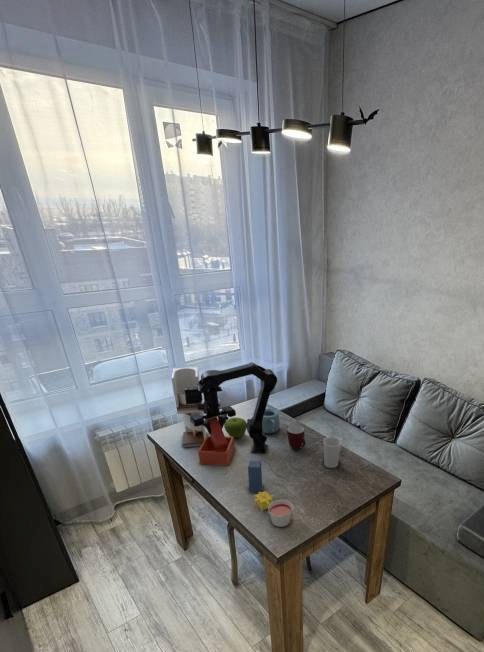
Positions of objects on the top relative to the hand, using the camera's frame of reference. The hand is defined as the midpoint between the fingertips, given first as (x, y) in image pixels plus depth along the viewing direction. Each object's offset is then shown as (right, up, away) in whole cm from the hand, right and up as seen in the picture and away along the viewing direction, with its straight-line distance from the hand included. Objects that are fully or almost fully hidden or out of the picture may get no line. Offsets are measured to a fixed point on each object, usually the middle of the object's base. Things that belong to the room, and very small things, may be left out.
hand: (215, 432), depth 175 cm
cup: (+51, -14, +5) cm, 54 cm away
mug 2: (+35, -7, +15) cm, 39 cm away
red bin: (-1, -11, +6) cm, 12 cm away
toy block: (+25, -29, -21) cm, 44 cm away
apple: (+4, -2, +22) cm, 23 cm away
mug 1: (+20, +1, +27) cm, 34 cm away
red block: (+3, -6, -2) cm, 7 cm away
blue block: (+20, -23, -13) cm, 33 cm away
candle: (+32, -33, -28) cm, 54 cm away
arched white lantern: (-15, -4, +17) cm, 23 cm away
